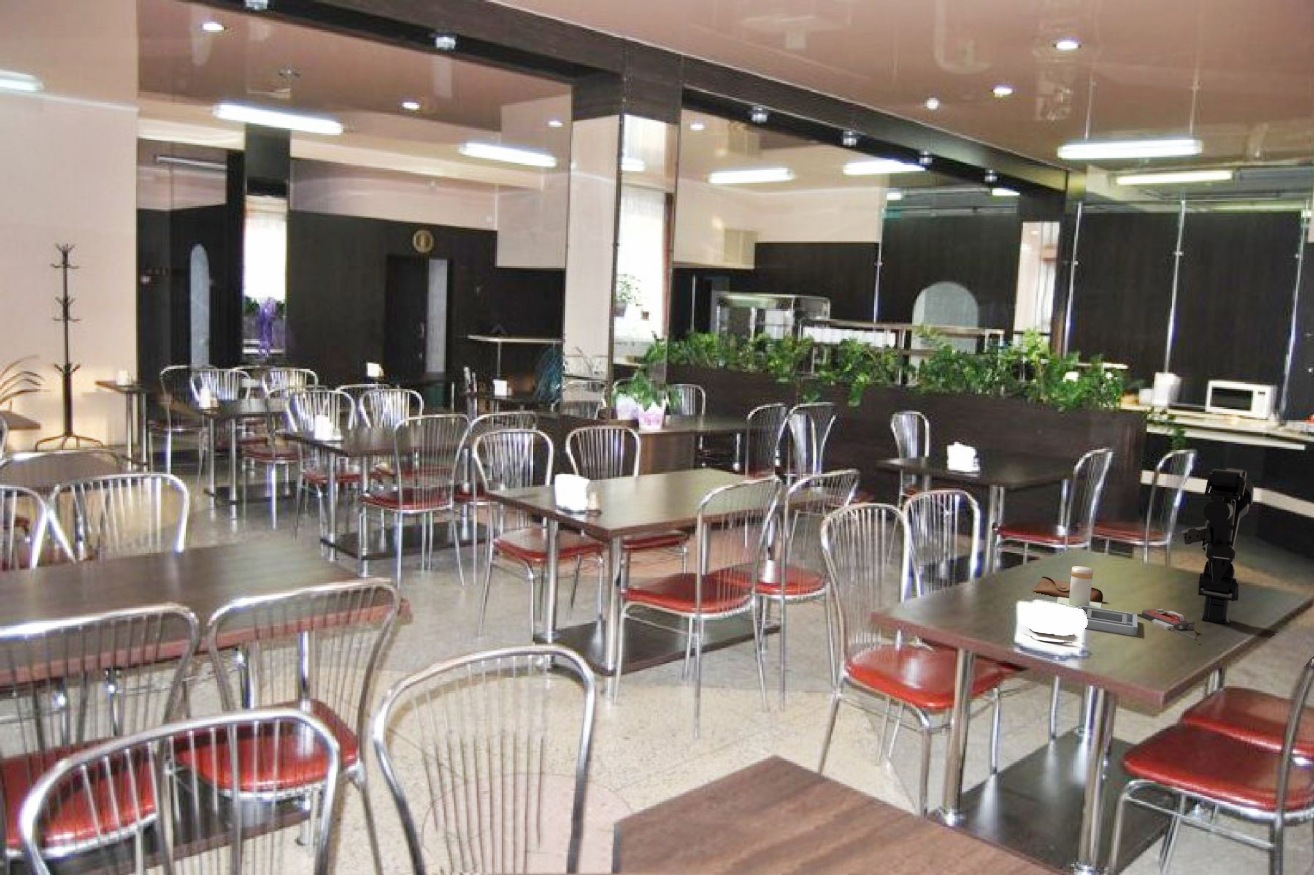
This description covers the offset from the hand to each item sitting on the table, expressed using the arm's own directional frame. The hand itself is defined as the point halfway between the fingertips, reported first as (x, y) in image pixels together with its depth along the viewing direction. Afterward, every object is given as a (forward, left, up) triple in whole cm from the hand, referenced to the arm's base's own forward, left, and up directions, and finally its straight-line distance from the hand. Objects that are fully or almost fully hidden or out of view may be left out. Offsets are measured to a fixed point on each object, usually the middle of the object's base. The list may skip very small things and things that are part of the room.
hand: (1213, 579), depth 255 cm
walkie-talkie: (+6, -8, -14) cm, 17 cm away
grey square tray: (+14, -24, -13) cm, 31 cm away
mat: (-1, -31, -13) cm, 33 cm away
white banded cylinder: (-1, -31, -12) cm, 33 cm away
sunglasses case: (-12, -35, -14) cm, 39 cm away
